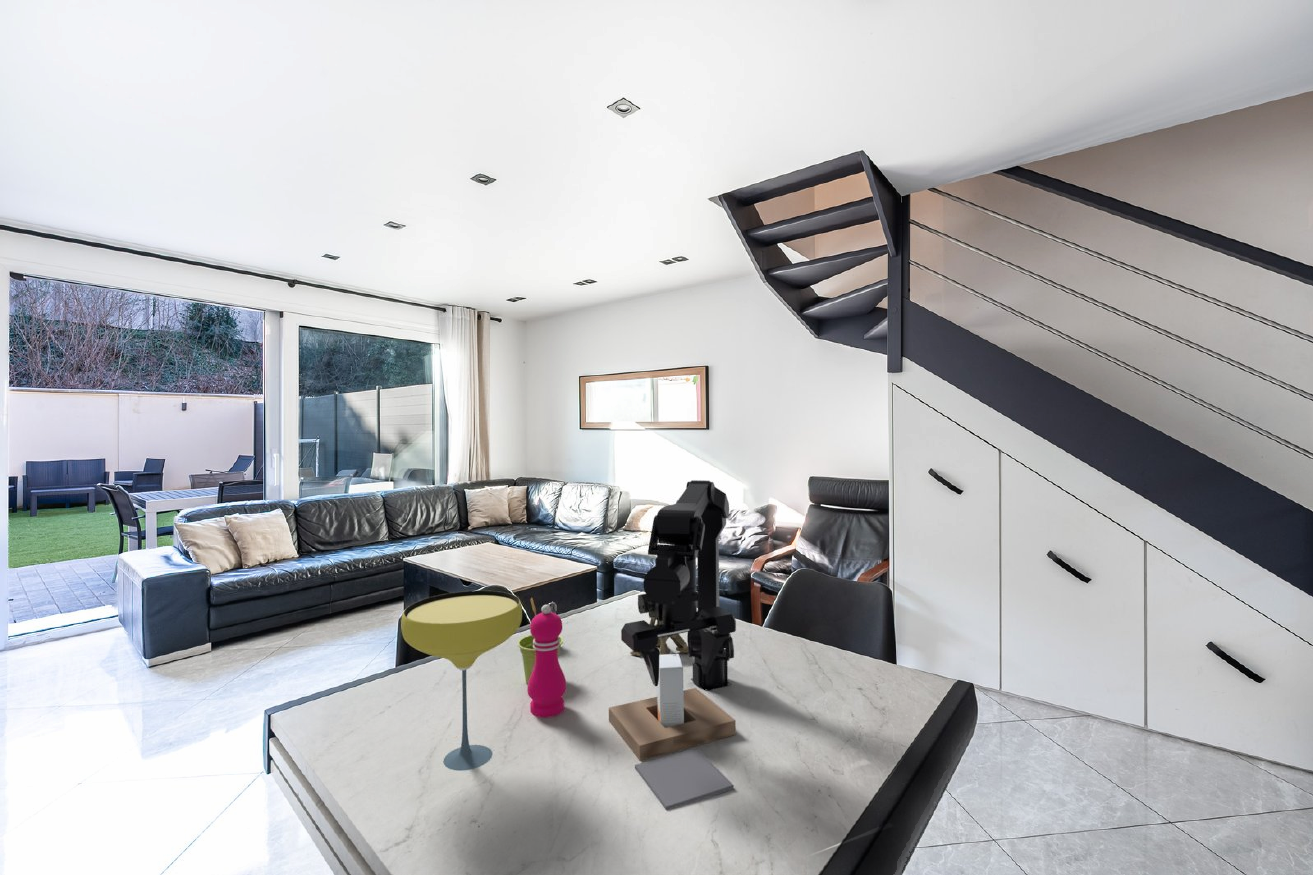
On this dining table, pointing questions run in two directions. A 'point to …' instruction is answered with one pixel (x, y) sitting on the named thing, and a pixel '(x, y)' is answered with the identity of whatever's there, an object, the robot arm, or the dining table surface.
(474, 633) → the cocktail glass
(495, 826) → the dining table surface
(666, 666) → the skincare box
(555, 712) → the pepper mill
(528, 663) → the plant pot
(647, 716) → the holder block
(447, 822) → the dining table surface
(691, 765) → the coaster
